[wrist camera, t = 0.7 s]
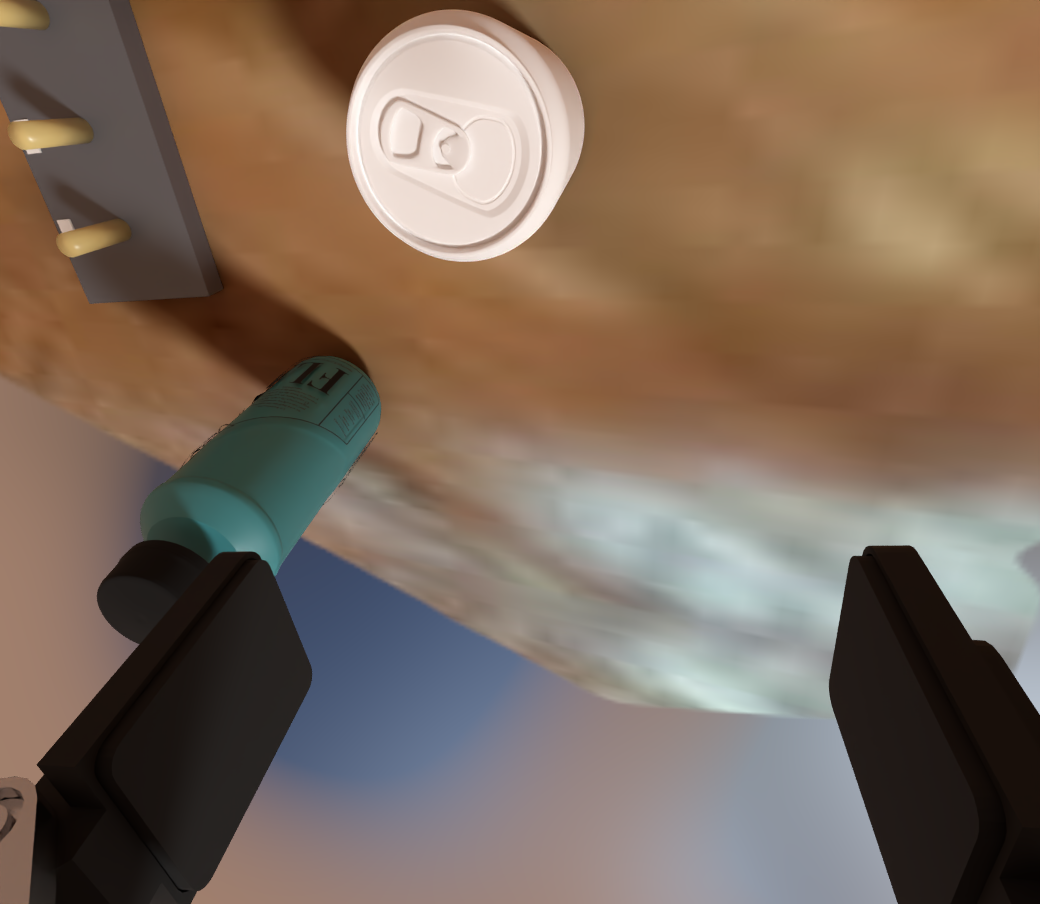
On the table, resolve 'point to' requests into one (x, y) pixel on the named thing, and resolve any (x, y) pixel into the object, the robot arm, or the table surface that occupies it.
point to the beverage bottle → (245, 488)
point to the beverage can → (463, 134)
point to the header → (102, 149)
